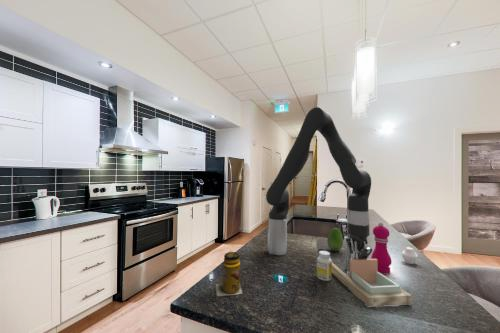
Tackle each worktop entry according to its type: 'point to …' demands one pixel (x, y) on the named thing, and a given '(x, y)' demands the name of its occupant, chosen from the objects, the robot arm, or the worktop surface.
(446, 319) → the worktop surface
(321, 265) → the supplement bottle
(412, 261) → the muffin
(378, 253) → the pepper mill
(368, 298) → the bay
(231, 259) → the condiment
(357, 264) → the drawer
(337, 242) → the avocado
